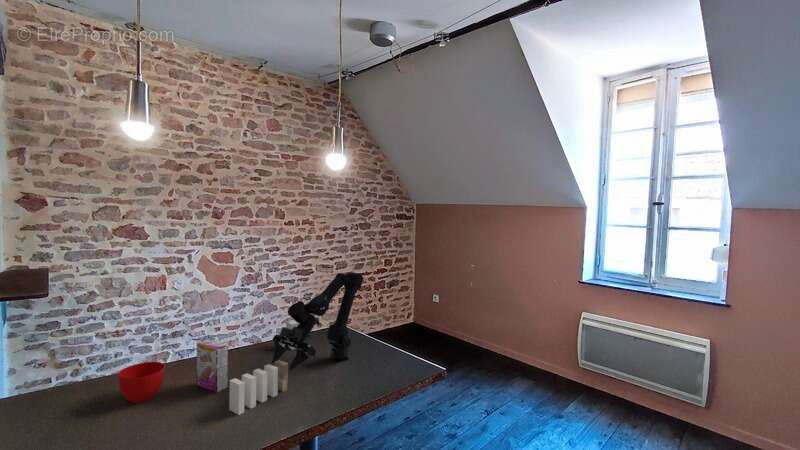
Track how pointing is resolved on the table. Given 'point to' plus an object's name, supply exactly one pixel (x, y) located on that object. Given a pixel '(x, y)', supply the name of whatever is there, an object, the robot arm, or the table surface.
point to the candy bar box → (212, 365)
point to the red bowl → (141, 381)
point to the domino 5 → (282, 374)
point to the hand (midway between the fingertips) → (281, 366)
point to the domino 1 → (237, 396)
